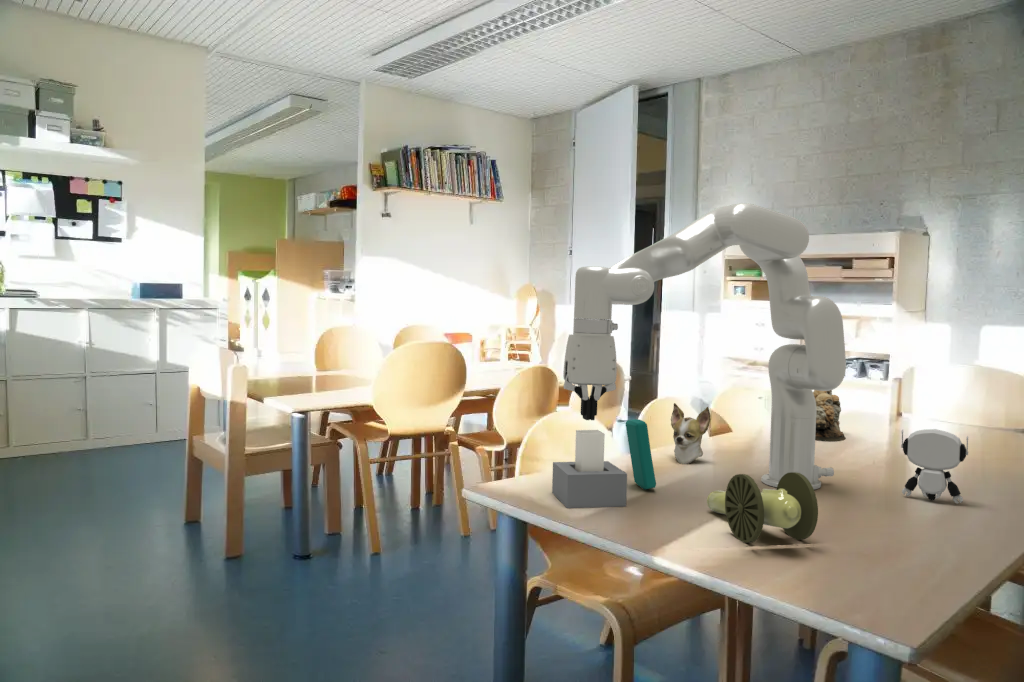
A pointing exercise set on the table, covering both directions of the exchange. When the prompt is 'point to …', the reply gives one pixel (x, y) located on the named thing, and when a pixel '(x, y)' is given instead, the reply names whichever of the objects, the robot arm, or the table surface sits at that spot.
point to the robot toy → (934, 461)
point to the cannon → (767, 506)
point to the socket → (589, 486)
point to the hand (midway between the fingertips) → (588, 419)
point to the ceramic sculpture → (688, 434)
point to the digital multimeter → (640, 453)
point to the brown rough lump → (827, 417)
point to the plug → (589, 450)
